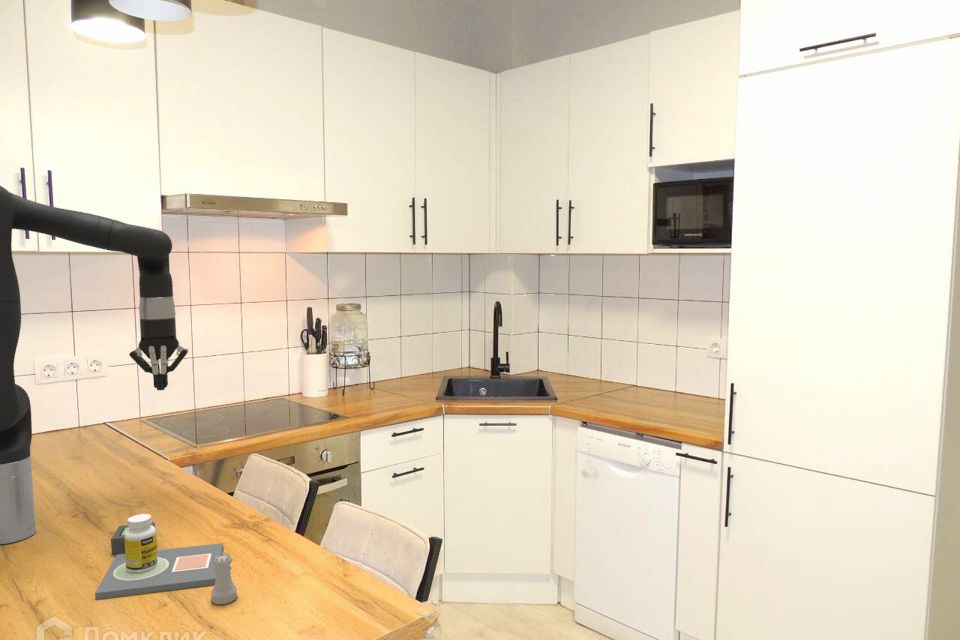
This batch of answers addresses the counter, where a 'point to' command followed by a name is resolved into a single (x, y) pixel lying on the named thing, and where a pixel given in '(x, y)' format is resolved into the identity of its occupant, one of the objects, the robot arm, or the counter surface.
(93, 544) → the counter surface
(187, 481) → the counter surface
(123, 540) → the button housing
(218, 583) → the rook chess piece
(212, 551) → the picture board
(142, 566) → the supplement bottle
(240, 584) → the counter surface
